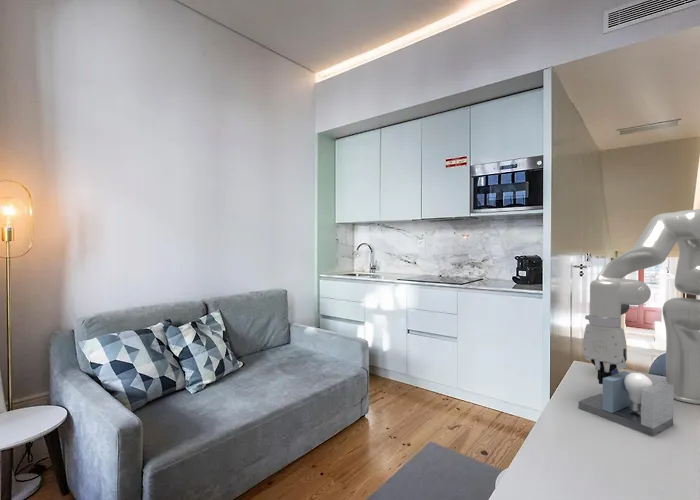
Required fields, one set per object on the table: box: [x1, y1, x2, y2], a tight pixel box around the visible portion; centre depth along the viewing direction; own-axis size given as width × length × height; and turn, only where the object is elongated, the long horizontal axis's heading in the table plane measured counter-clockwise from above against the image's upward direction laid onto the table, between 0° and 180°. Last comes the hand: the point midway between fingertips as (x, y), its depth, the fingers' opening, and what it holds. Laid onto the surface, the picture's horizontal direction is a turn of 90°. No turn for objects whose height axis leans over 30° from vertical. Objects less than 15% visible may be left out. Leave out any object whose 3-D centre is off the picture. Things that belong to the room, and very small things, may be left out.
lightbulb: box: [624, 372, 654, 412], centre depth 98 cm, size 6×6×11 cm
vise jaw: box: [602, 370, 631, 413], centre depth 102 cm, size 12×2×9 cm, turn 119°
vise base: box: [577, 381, 675, 437], centre depth 101 cm, size 12×18×11 cm, turn 29°
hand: (604, 383), depth 105 cm, fingers closed
